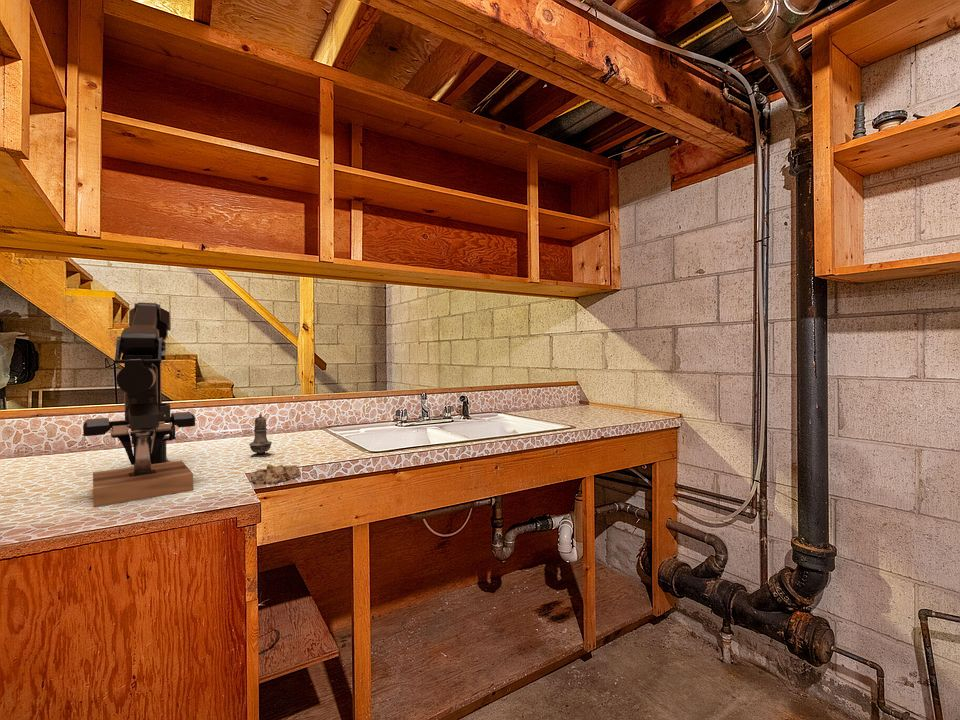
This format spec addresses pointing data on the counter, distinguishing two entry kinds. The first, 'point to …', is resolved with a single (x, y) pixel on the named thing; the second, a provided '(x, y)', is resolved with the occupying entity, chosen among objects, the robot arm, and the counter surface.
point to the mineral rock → (274, 474)
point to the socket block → (140, 483)
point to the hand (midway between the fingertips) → (142, 463)
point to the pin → (142, 451)
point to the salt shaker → (260, 439)
